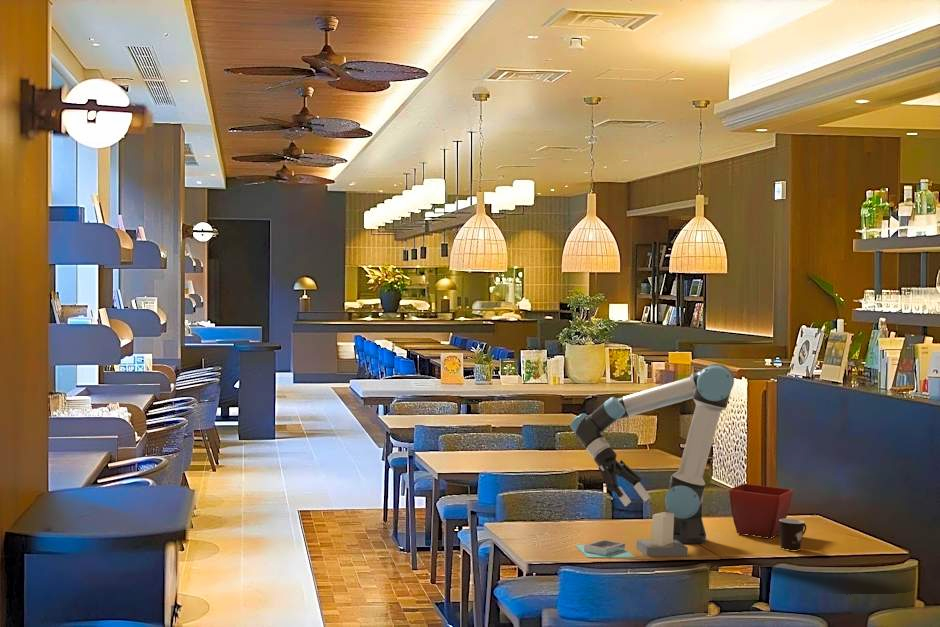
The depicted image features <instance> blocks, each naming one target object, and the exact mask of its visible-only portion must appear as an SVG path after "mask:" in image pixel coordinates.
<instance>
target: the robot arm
mask: <svg viewBox="0 0 940 627" xmlns="http://www.w3.org/2000/svg"><path fill="white" fill-rule="evenodd" d="M734 384H735V379H734V374H733V372H732V371H731V370H730V369H729V367H727V366H726V365H723V364H719V363H714V364H711V365H708V366H706V367H704V368H703V369H701V370H698V371H695V372H692V373H691V374H690V376H688V377H685V378H681V379H678V380H675V381H672V382H668V383H665V384H662V385H657V386H654V387H651V388H647V389H644V390H641V391H639V392H638V391H637V392H633V393H631V394H628V395H624V396H622V397H618V398H617V397H614V396H611V397H609V399H606V400H605V401H604V402H603V403H602V404H601V405H599V406H598V407H597V408H596V409H595V410H594V411H592V413H590V414H587V413H580V414H579V415H577V416H575V417H574V418H573V419H572V420H571V422H570V425H569V426H570V429H571V430H572V432H573V434H574V435H575V437H576V438H577V439H578V440H579V442H580V443H581V445H582V446H583V447H584V449H585V450H586V451H587V453H588V454H589V456H590V457H591V458H592V459H593V460H594V463H595V464H597V466H598V471H599V473H600V474H601V476H602V478H603V481H604V483H605V486H606V489H607V490H609V492H610V493H613V492H614V493H615V495H616V496H617V498H618V499H619V501H620V502H621V503H622V505H623V506H624V507H627V506H628V505H629V504H630V503H631V502H632V500H631V499H630V497H629V496H628V495H627V494H626V492H625V491H624V489H623V488H622V487H621V486H619V484H618V477H621V478H623V479H624V480H626V481H627V482H629V484H631V485H633V488H634V490H635V491H636V492H637V494H638V495H639V497H640V498H641V499H642V500H643V502H644V503H645V502H646V501H648V500H649V499H650V498H651V495H650V493H648V491H647V490H646V488H645V487H644V486H643V485H642V483H641V482H642V477H640V476H639V475H638V473H636V472H635V471H634V470H632V469H631V468H630V467H629V466H628V465H626V463H625V461H624V460H622V459H621V460H619V461H618V460H617V459H616V458H617V453H616V452H615V451H614V449H613V448H612V447H611V445H610V444H609V443H608V441H607V439H606V438H605V437H604V436H603V434H602V433H603V432H604V431H605V430H607V429H608V428H609V427H610V426H611V425H613V424H614V423H616V422H617V421H619V420H623V419H626V418H629V417H633V416H636V415H640V414H642V413H646V412H650V411H653V410H656V409H659V408H660V409H661V408H663V407H667V406H670V405H674V404H678V403H681V402H685V401H688V400H691V399H692V400H693V402H694V404H695V408H694V410H693V416H692V418H691V422H690V423H691V424H690V426H689V429H688V433H687V437H686V441H685V445H684V448H683V452H682V455H681V460H680V464H679V467H678V470H677V471H675V472H674V473H672V475H671V476H670V480H669V486H668V490H667V492H666V494H665V498H664V501H665V502H664V503H665V507H666V509H667V511H668V513H674V529H673V540H677V541H679V542H680V543H682V544H703V543H705V542H706V541H707V533H706V529H705V525H704V521H703V506H704V505H703V503H704V502H703V501H704V490H705V487H706V482H705V480H704V474H705V471H706V470H705V469H706V466H707V462H708V461H709V460H708V459H709V455H710V451H711V448H712V446H713V445H712V444H713V441H714V437H715V433H716V430H717V426H718V422H719V419H720V415H721V413H722V411H725V410H726V409H727V407H728V404H729V400H730V396H731V392H732V390H733V388H734ZM617 476H618V477H617Z"/></svg>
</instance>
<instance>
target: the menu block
mask: <svg viewBox="0 0 940 627" xmlns="http://www.w3.org/2000/svg"><path fill="white" fill-rule="evenodd" d="M651 517H652V520H651V539H650V540H651V544H652V545H658V546H664V545H667V544H670V543H673V529H674V513H669V511H668V512H666V511H662V512H658V513H654V514H652V515H651Z"/></svg>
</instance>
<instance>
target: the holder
mask: <svg viewBox="0 0 940 627" xmlns="http://www.w3.org/2000/svg"><path fill="white" fill-rule="evenodd" d="M583 545H584V552H588V553H593V554H598V555H603V556H608V555H611V554H614V553H617V552H621V551H624V550H626V549H625V548H626V543H624V542H619V541H613V540H608V539H601V540H597V541H593V542H591V543H590V542H589V543H586V544H583Z"/></svg>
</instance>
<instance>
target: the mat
mask: <svg viewBox="0 0 940 627" xmlns="http://www.w3.org/2000/svg"><path fill="white" fill-rule="evenodd" d="M584 545H585V544H575V545H574V546H575V547H576V548H577V549H578V550H579V551H580V552H581V553H582V554H583V555H584V556H585V557H586V558H587V559H636V557H635V556H634V555H633V554H632V553H631V552H630V551H628V550H627V549H625V550H624V551H621V552H617V553H614V554H611V555H608V556H603V555H598V554H593V553H588V552H584Z"/></svg>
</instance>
